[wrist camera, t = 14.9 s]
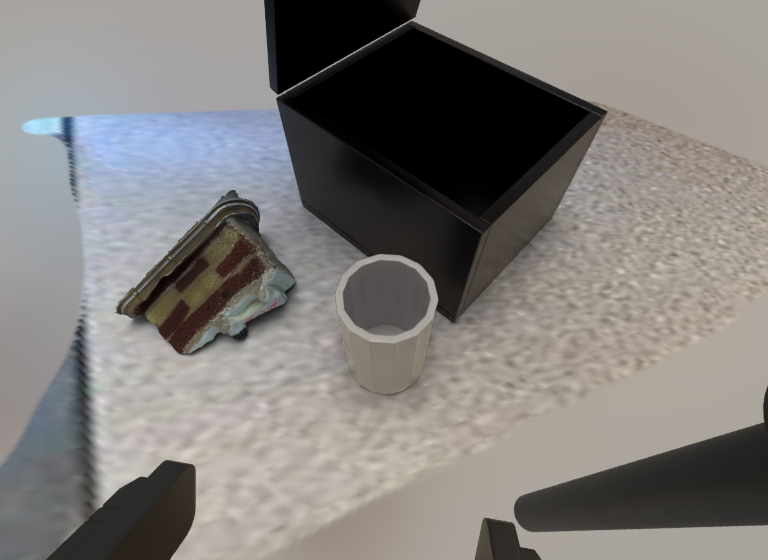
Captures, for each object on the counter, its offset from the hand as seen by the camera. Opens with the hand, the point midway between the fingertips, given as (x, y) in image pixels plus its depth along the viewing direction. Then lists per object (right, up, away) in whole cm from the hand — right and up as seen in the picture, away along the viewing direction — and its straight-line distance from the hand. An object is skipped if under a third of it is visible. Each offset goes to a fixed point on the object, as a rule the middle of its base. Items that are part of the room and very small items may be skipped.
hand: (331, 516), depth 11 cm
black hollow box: (+5, +12, +24) cm, 28 cm away
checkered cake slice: (-10, +5, +19) cm, 22 cm away
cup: (+2, +1, +17) cm, 17 cm away
